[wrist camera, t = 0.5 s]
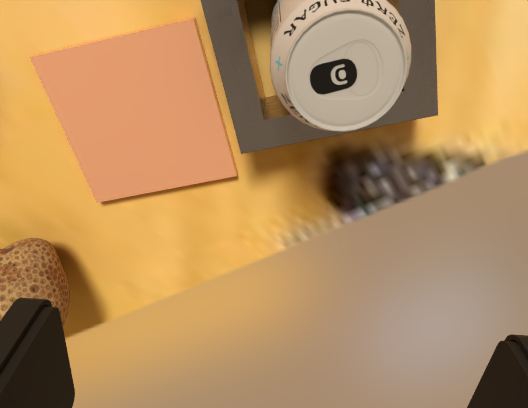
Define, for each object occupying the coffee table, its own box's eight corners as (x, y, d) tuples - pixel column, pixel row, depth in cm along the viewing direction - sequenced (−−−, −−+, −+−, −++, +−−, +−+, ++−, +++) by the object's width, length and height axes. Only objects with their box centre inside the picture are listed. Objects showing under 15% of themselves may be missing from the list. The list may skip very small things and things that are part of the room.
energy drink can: (365, 53, 32) (429, 127, 19) (282, 74, 33) (288, 158, 20) (351, -40, 29) (416, -31, 16) (261, -14, 30) (252, 15, 17)
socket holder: (405, -117, 27) (430, -130, 22) (416, 93, 33) (437, 115, 29) (197, -63, 28) (183, -66, 24) (245, 128, 35) (241, 153, 30)
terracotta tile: (195, 16, 31) (193, 18, 30) (237, 171, 37) (236, 175, 36) (35, 55, 32) (29, 57, 32) (100, 197, 38) (97, 202, 37)
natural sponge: (7, 297, 44) (-58, 383, 35) (-25, 219, 39) (-109, 296, 31) (99, 296, 43) (56, 382, 35) (77, 217, 39) (21, 294, 30)
